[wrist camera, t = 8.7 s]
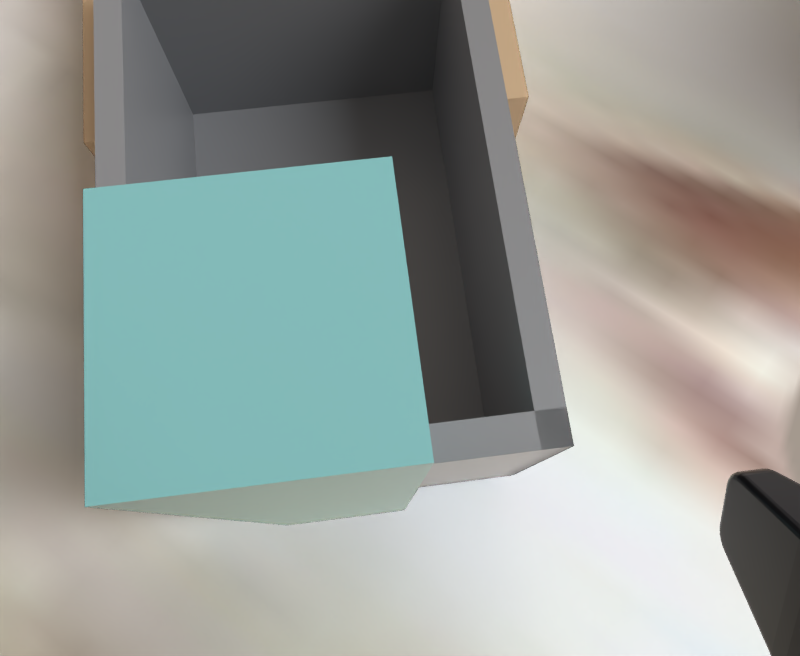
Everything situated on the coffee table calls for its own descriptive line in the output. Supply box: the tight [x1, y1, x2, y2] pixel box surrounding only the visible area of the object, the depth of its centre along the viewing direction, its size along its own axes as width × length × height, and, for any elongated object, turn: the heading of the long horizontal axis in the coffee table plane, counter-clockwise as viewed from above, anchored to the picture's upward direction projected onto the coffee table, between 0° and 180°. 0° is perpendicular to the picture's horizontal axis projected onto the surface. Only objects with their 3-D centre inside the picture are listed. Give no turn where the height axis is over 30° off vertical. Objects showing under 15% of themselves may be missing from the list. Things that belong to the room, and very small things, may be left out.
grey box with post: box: [83, 0, 574, 525], centre depth 11 cm, size 11×7×13 cm, turn 7°
